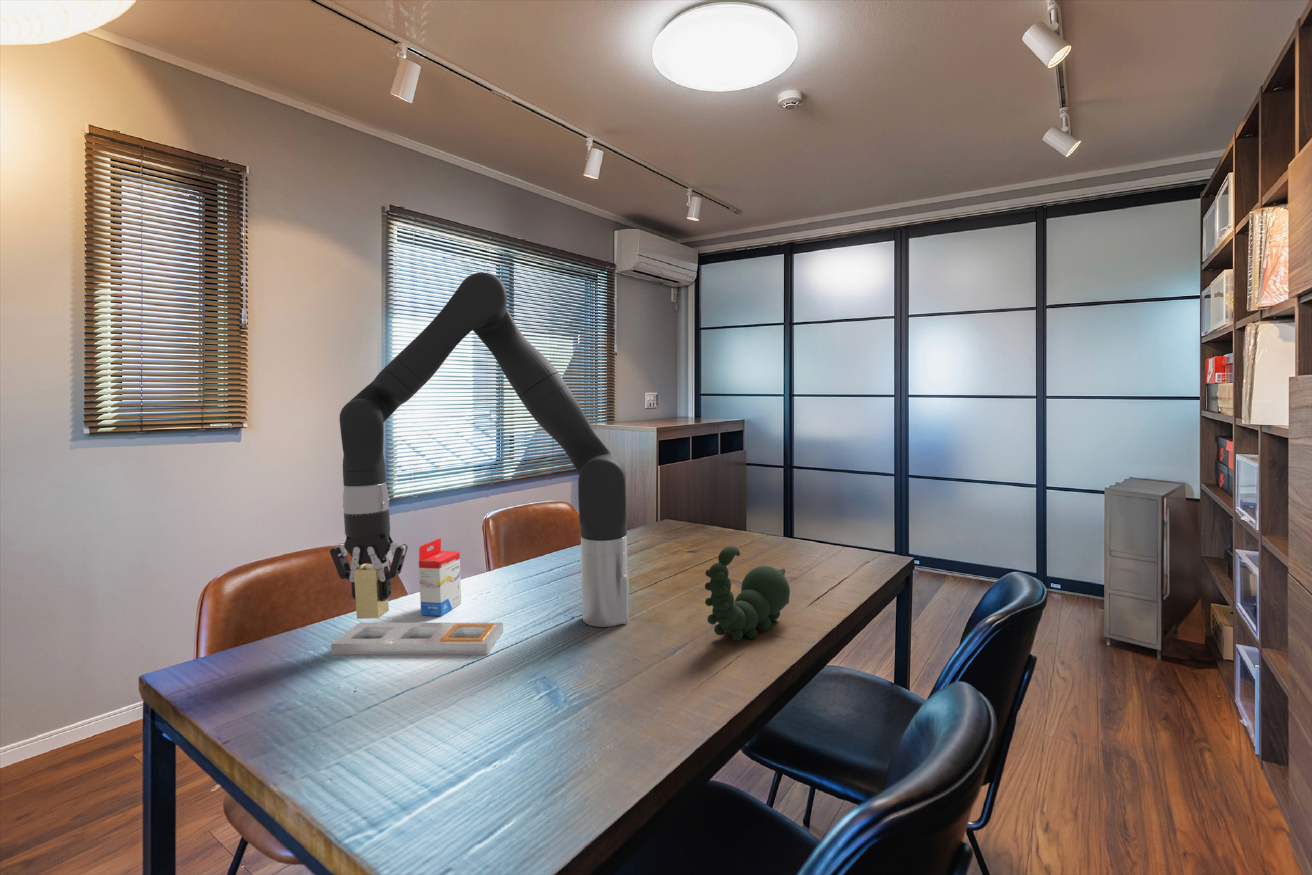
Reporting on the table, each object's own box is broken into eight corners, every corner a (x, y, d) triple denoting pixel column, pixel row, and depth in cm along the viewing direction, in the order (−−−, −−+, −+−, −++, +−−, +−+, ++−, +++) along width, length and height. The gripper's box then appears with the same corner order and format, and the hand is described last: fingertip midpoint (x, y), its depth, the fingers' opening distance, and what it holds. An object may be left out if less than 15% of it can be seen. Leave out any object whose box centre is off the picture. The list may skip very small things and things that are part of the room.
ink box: (441, 617, 127) (438, 547, 126) (420, 615, 128) (417, 546, 127) (462, 603, 135) (459, 537, 134) (442, 602, 136) (439, 537, 135)
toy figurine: (739, 664, 107) (806, 612, 125) (733, 560, 104) (803, 522, 123) (696, 650, 113) (766, 602, 131) (689, 551, 110) (762, 516, 129)
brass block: (388, 610, 115) (386, 563, 115) (378, 618, 111) (375, 569, 111) (367, 610, 115) (364, 563, 115) (356, 618, 111) (353, 570, 111)
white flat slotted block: (503, 632, 118) (502, 621, 118) (487, 654, 108) (486, 642, 108) (360, 632, 119) (359, 621, 119) (331, 654, 109) (331, 642, 109)
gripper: (413, 503, 116) (418, 593, 117) (339, 505, 116) (345, 594, 117) (395, 511, 108) (401, 606, 109) (316, 513, 108) (322, 607, 110)
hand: (372, 599), depth 113 cm, fingers closed on brass block, 4 cm apart
